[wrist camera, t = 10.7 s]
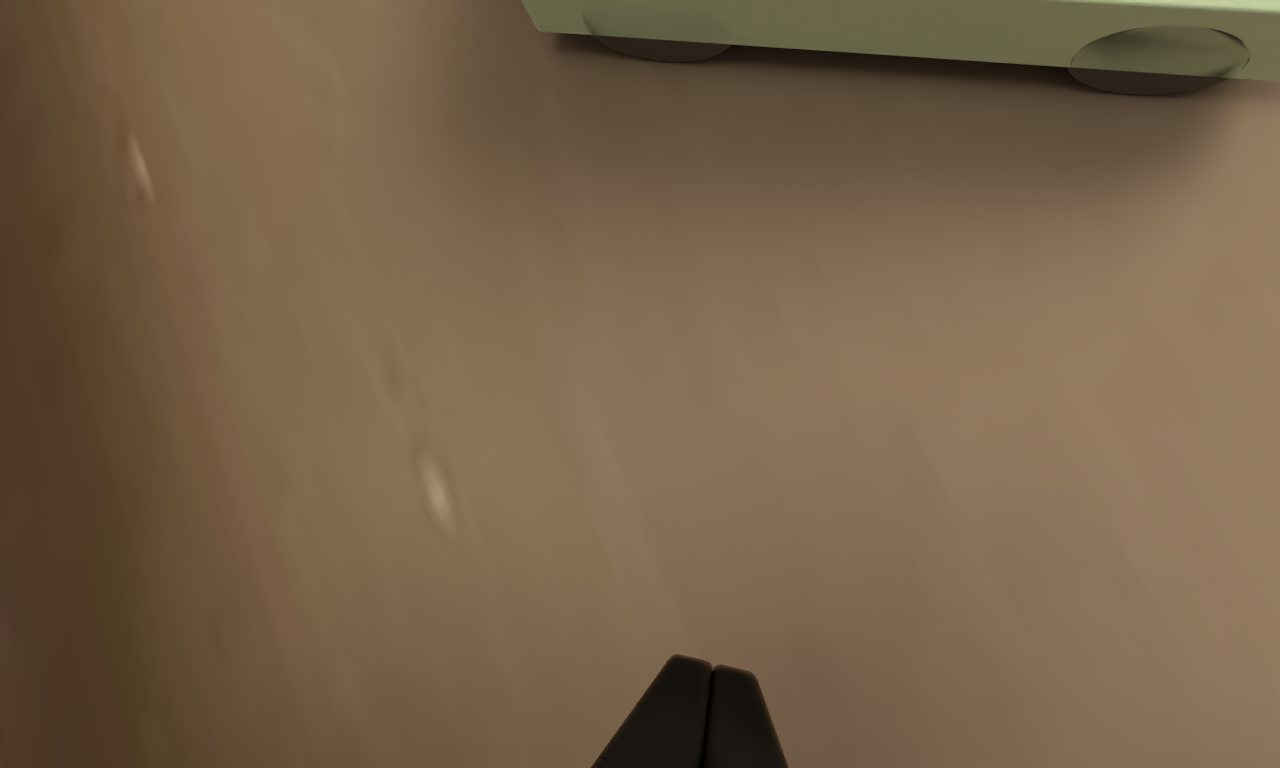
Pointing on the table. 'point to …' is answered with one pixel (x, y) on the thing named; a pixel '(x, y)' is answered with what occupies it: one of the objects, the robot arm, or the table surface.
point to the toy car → (957, 33)
